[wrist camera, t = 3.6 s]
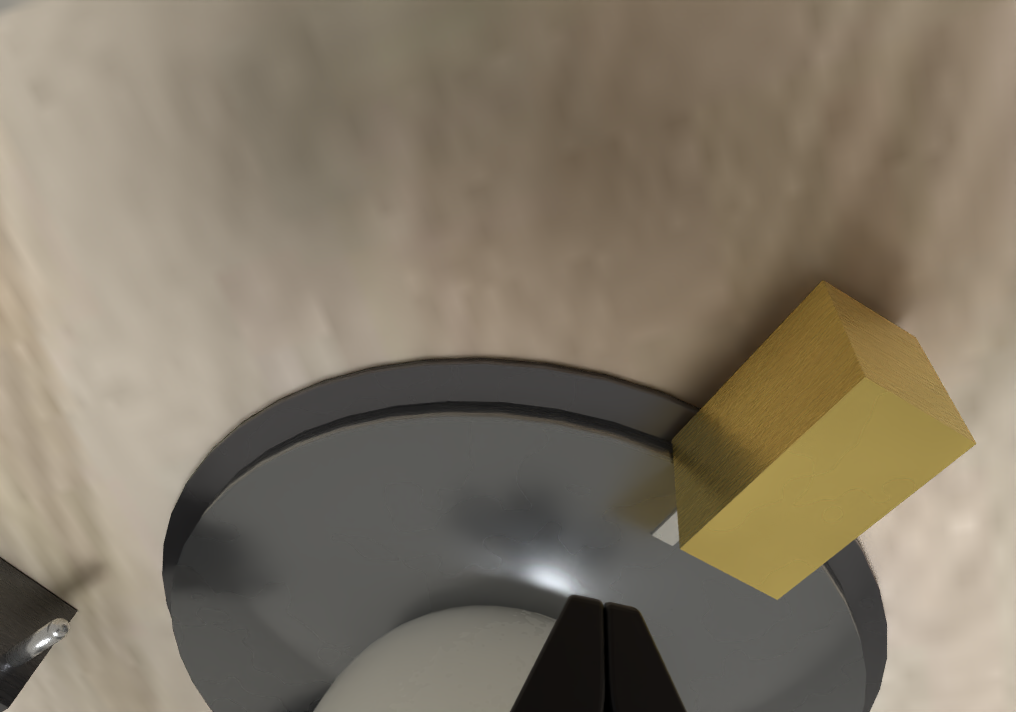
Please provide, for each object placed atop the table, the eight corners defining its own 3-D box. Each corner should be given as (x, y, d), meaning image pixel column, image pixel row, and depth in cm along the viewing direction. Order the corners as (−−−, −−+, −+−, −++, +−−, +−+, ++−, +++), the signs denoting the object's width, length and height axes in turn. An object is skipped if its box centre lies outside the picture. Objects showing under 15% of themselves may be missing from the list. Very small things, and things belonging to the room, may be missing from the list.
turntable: (601, 893, 31) (598, 999, 28) (115, 690, 27) (57, 788, 25) (1217, 524, 18) (1328, 654, 15) (434, 38, 14) (385, 89, 11)
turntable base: (478, 878, 33) (477, 886, 33) (36, 574, 25) (30, 582, 25) (1017, 733, 23) (1021, 742, 23) (569, 180, 16) (568, 185, 16)
